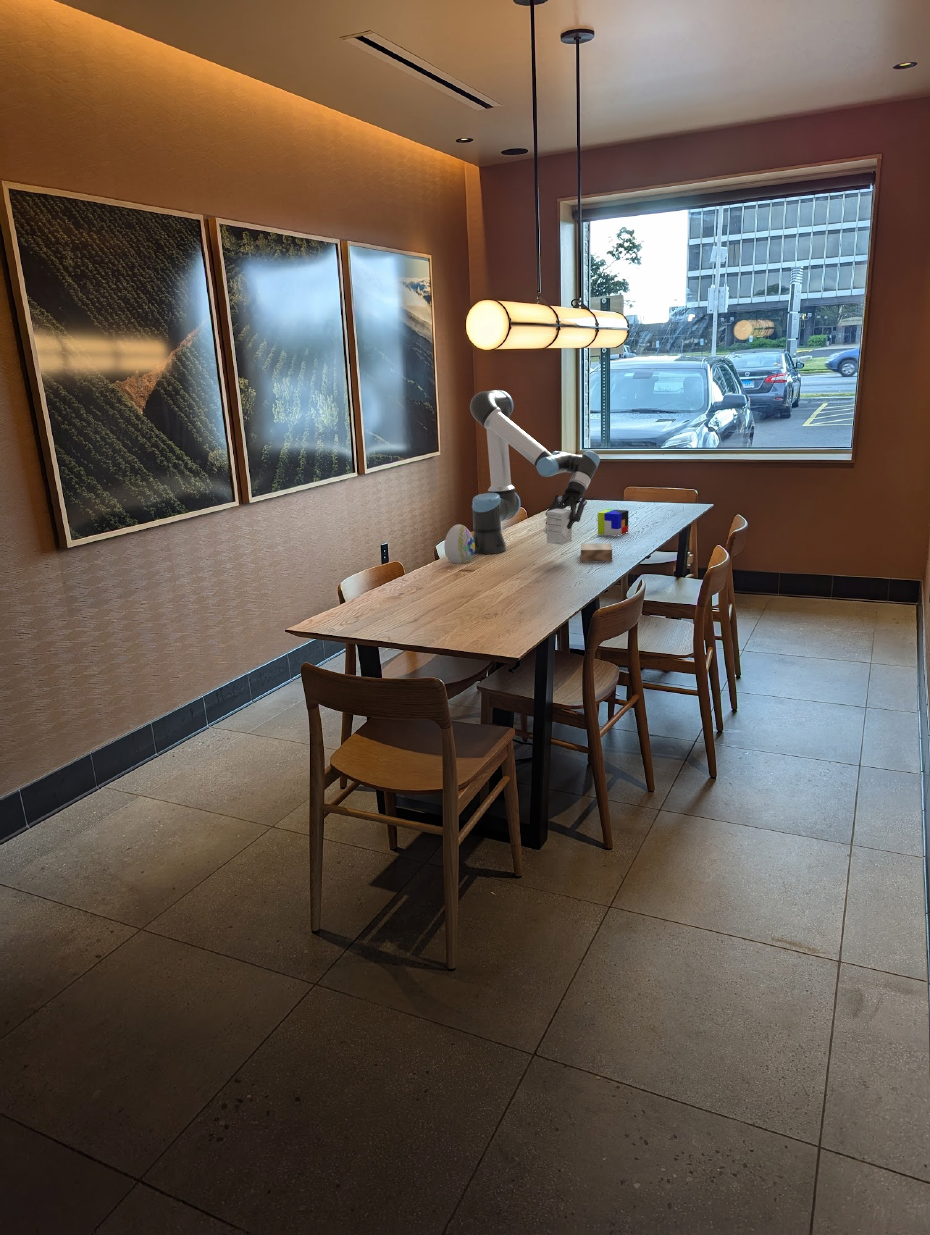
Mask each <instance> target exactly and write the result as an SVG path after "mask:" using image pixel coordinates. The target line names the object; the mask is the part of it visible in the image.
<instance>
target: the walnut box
mask: <svg viewBox="0 0 930 1235" xmlns="http://www.w3.org/2000/svg"><path fill="white" fill-rule="evenodd" d="M585 561H607V562H613V545H612V543H611V542H608V543H607V542H604V543H603V542H602V543H601V542H599V543H598V542H596V543H592V542H591V543H580V562H581V563H586V562H585Z"/></svg>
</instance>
